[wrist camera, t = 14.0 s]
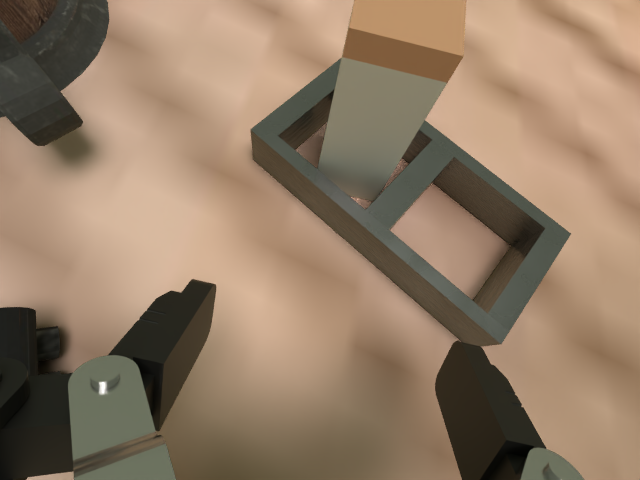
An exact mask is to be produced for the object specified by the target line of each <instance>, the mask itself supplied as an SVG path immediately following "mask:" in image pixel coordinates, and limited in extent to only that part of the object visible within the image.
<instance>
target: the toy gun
mask: <svg viewBox="0 0 640 480" xmlns="http://www.w3.org/2000/svg"><path fill="white" fill-rule="evenodd" d="M59 351H60V339H59V329H58V326H55V327H48V328H40V329H36V310H34V309H31V308H23V307H7V308H0V358H2V357H5V358H12V359H16V360H18V361H21V362H22V363H23V364H24V365H25V366H26V368H27V372H28V376H36V375H38V361H44V360H49V359H55V358H58V357H59ZM59 374H61V373H60V371H56V372H51V373H46V374H41V375H59Z"/></svg>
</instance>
